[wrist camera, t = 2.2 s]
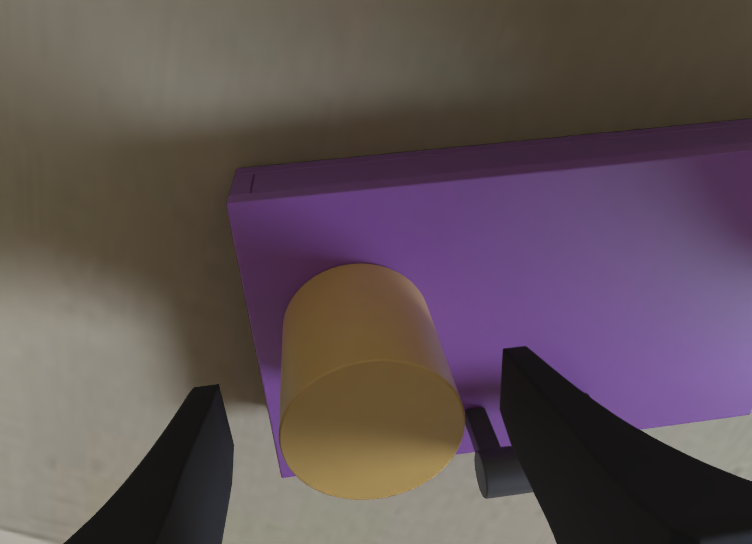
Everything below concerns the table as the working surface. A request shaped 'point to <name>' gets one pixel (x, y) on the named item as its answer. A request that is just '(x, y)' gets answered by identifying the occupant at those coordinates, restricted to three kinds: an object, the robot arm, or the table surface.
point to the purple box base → (489, 156)
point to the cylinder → (365, 386)
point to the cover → (537, 280)
